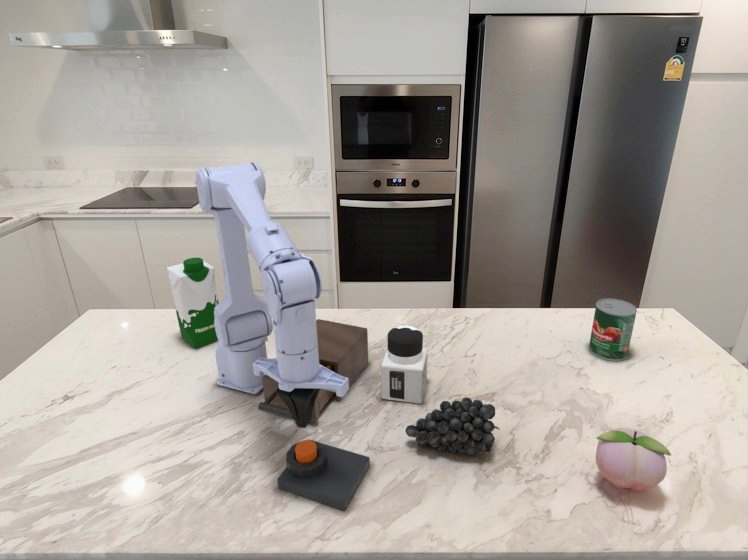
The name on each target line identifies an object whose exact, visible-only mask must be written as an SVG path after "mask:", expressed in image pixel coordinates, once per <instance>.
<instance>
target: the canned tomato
mask: <svg viewBox="0 0 748 560" xmlns="http://www.w3.org/2000/svg"><path fill="white" fill-rule="evenodd" d="M637 313H638V308H637V307H636V306H635V305H634V304H632V303H630V302H628V301H627V300H622V299H617V298H608V297H607V298H601V299H598V300H597V301H596V303H595V309H594V315H593V320H592V327H591V332H590V338H589V345H588V350H589V352H590V353H591V354H592V355H594V356H595V357H597V358H598V359H599V358H600V359H602V360H605V361H610V362H622V361H624V360H626V359H627V358H628V356H629V350H630V345H631V341H632V336H633V331H634V326H635V322H636V316H637Z"/></svg>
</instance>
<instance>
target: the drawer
mask: <svg viewBox="0 0 748 560" xmlns="http://www.w3.org/2000/svg"><path fill="white" fill-rule="evenodd" d="M319 364H320V365H322V366H324V367H326V368H327V369H329V370H331V371H333V372H334V365H330V364H325V363H321V362H319ZM262 382H263V389H262V390H263V396H264V401H260V402H259V403H258V405H257V409H258V411H261V412H263V413H268V414H271V415H276V416H278V417H282V418H285V419H291V418H293V416H292V414H291V412H290V410H289V408H288V407H287V405H286V404H285V402H284V401H283V400H282V399H281V398H280V397H279V396H278V395H277V388H278V387H279V382H277V381H276V380H274V379H273V378H271V377H270V376H268V375H264V376H263V377H262ZM334 393H335V392H332V391H328V390H324V389H320V391H319V393H318V395H317V398H316V400H315V404H314V407H313V412H312V418H311V421H310V422H312V423H317V422H318V421H319V420H320V412H321V411H322V409H323V408H324V407H325V406H326V404H327V403H328V402H329V401H330V400H331V399H330V398H331V397H332V395H333V394H334Z"/></svg>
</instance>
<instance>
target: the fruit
mask: <svg viewBox="0 0 748 560" xmlns="http://www.w3.org/2000/svg"><path fill="white" fill-rule="evenodd" d="M495 416H496V407H495V406H494V405H493V404H492V403H491V404H490V403H488V404H487V403H483V401H482V400H479V399H474V400H472V399H471V398H470V397H463V398H462V399H461V401H460V400H454V401H452V403H451V402H449V400H443V401H442V402H441V403H440V404H439V409H437V408H435V409H433V410H432V411H431V412H427V413H426V415H425V417H424V418H423V417H422V418H419V419H417V421H416V424H414V425H413V424H410V425H407V426H406V428H405V434H406V435H407V437H410V438H415V443H416V445H418V446H419V447H421V448H422V447H425V446H426V445H430V447H433V448H437V449H438V451H440V452H446V451H447V449H449V451H450V452H452V453H455V452H457V451H458V452H459V453H461V454H468V455H470V456H471V455H474V454H475V453H477V454H479V455H481V454H484V453H490V452H492V450H493V446H494V443H495V439H496V438H495V436H494V434H493V433H492V432H494V430H495V429H496V430H499V431H500V430H501V429H500V427H499V426H497V425H495V424H494V422H493V421H492V420H493V418H495Z"/></svg>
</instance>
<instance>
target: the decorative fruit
mask: <svg viewBox="0 0 748 560" xmlns="http://www.w3.org/2000/svg"><path fill="white" fill-rule="evenodd" d="M596 440H598V441H597V446H596V451H595V463H596V467H597V469H598V471H599V472H600V474H601V475H602V476H603V477H604V478H605V479H606V480H607V481H608V482H609V483H611V484H612V485H614V486H616V487H617V488H620V489H630V490H632V491H645V490H648V489H651V488H654V487H656V486H658V485H659V484H661V483H662V482H663V481H664V480H665V478H666V475H667V471H668V470H667V469H668V468H667V459H666V456H672V454H671V452H670V451H669V449H668V448H667V447H666V446H665V445H664V444H663V443H661V442H660V441H659V440H657V439H655V438H654V437H650V436H649V435H647V434H646V433H644V432H642V431H640V430H637V429H633V428H628V427H627V428H626V427H619V428H613V429H610V430H608V431H606V432H603V433H602V434H600V435H599V436H597V437H596ZM665 455H666V456H665Z"/></svg>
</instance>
